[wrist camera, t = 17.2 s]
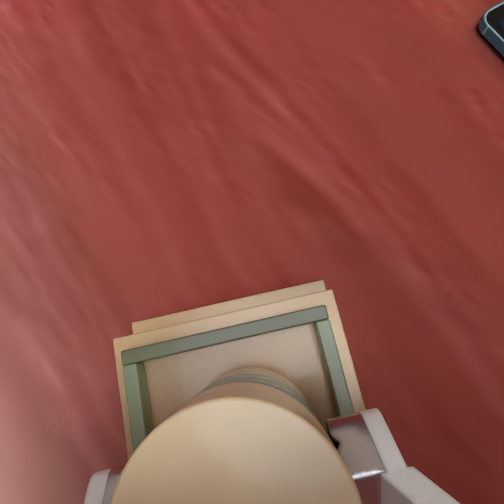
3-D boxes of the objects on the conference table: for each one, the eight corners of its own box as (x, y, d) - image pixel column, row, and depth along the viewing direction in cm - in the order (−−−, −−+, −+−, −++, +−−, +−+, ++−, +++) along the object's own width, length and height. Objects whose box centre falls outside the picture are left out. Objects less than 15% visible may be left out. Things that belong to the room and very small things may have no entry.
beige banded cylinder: (330, 488, 14) (406, 671, 6) (201, 518, 14) (120, 738, 6) (298, 354, 15) (329, 372, 7) (179, 381, 15) (88, 426, 7)
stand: (381, 508, 19) (437, 589, 13) (172, 557, 18) (126, 664, 12) (320, 282, 21) (341, 259, 15) (138, 323, 21) (87, 317, 15)
